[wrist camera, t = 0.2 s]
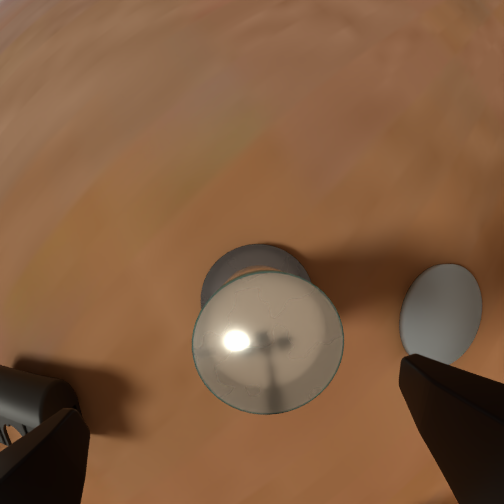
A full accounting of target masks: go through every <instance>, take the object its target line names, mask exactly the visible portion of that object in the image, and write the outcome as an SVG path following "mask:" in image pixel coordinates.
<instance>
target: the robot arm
mask: <svg viewBox="0 0 504 504" xmlns="http://www.w3.org/2000/svg"><path fill="white" fill-rule="evenodd" d="M399 387H400V390H401V392H402V394H403V397H404V399H405V401H406V403H407V406H408V408H409V410H410V412H411V415H412V417H413V419H414V422H415V424H416V426H417V428H418V431H419V433H420V434H421V436H422V438H423V440H424V441H425V443H426V445H427V447H428V448H429V450H430V452H431V454H432V455H433V457H434V459H435V461H436V462H437V464H438V466H439V468H440V470H441V471H442V473H443V475H444V477H445V479H446V481H447V482H448V484H449V486H450V488H451V490H452V492H453V494H454V495H455V497H456V499H457V501H458V503H459V504H504V384H503V383H500V382H497V381H494V380H491V379H488V378H485V377H482V376H479V375H476V374H473V373H470V372H467V371H465V370H462V369H459V368H456V367H453V366H450V365H447V364H445V363H442V362H439V361H436V360H433V359H431V358H428V357H425V356H422V355H420V354H417V353H415V354H411V355H409V356H406V357H404V358H402V360H401V365H400V374H399ZM89 440H90V430H89V428H88V426H87V425H86V423H85V422H84V420H83V419H82V417H81V415H80V414H79V412H78V411H77V410H76V409H73V408H63V409H61V410H60V411H58V412H57V413H56V414H54V415H53V416H51V417H50V418H49V419H47V420H46V421H44V422H43V423H41V424H40V425H39V426H37V427H36V428H34V429H33V430H31V431H30V432H29V433H27V434H26V435H24V436H23V437H21V438H20V439H18V440H17V441H16V442H14V443H13V444H11V445H10V446H8V447H7V448H5V449H4V450H2V451H1V452H0V504H81V498H82V493H83V487H84V482H85V476H86V467H87V457H88V448H89Z"/></svg>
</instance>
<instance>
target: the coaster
mask: <svg viewBox="0 0 504 504" xmlns="http://www.w3.org/2000/svg"><path fill="white" fill-rule="evenodd" d="M481 314H482V298H481V292H480V289H479V286H478V284H477V281H476V280H475V278H474V277H473V275H472V274H471V273H470V272H469V271H468V270H467V269H465V268H464V267H462V266H459V265H455V264H439V265H435V266H432V267H430V268H428V269H427V270H425V271H424V272H423V273H422V274H420V275H419V276H418V277H417V279H416V280H415V281H414V282H413V284H412V285H411V286H410V288H409V290H408V292H407V294H406V296H405V298H404V301H403V304H402V308H401V312H400V320H399V330H400V337H401V341H402V344H403V346H404V348H405V350H406V352H407V353H408V354H409V355H411V354H415V353H417V354H420V355H422V356H425V357H428V358H431V359H433V360H436V361H439V362H442V363H445V364H447V365H449V364H451V363H453V362H454V361H456V360H457V359H458V358H460V357H461V356H462V355H463V354H464V353H465V352H466V350H467V349H468V348H469V346H470V345H471V343H472V342H473V340H474V338H475V336H476V333H477V331H478V328H479V325H480V320H481Z"/></svg>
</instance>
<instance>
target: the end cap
mask: <svg viewBox="0 0 504 504" xmlns="http://www.w3.org/2000/svg"><path fill="white" fill-rule="evenodd" d="M63 408H73V409H76V410H77V411H78V412H79V414H80V415H81V411H80V407H79V403H78V399H77V396H76V394H75V392H74V390H73V389H72V387H71V386H70V385H69V384H68V383H67V382H65V381H64V380H60V379H56V378H51V377H46V376H42V375H37V374H33V373H29V372H25V371H21V370H17V369H13V368H9V367H6V366H2V365H0V443H2V444H5V445H7V446H10V445H11V444H12V443H11V441H10V438H9V436H8V433H7V430H6V425H7V426H13V427H14V428H16V429H17V430H18V431H19V433H20V434H21V435H22V437H23V436H24V435H26V434H27V433H29V432H30V431H31V430H33V429H34V428H36V427H37V426H39V425H40V424H41V423H43V422H44V421H46V420H47V419H49V418H50V417H51V416H53V415H54V414H56V413H57V412H58V411H60V410H61V409H63ZM81 417H82V415H81Z"/></svg>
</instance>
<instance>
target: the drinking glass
mask: <svg viewBox="0 0 504 504" xmlns="http://www.w3.org/2000/svg"><path fill="white" fill-rule="evenodd" d="M343 349H344V333H343V326H342V323H341V319H340V316H339V314H338V312H337V310H336V308H335V306H334V305H333V303H332V302H331V300H330V299H329V298H328V297H327V296H326V294H325V293H324V292H323V291H321V290H320V289H319V288H318V287H317V286H315V285H314V284H312V283H311V282H309V281H307V280H305V279H303V278H301V277H299V276H296V275H293V274H290V273H287V272H283V271H280V270H278V269H275V268H272V267H269V266H264V265H255V266H249V267H246V268H243V269H241V270H239V271H237V272H236V273H234V274H233V275H232V276H231V277H230V278H229V279H228V280H227V281H226V282H225V283H224V284H223V285H222V286H221V287H220V288H219V289H218V290H217V291H216V292H215V293H214V294H213V295H212V296H211V298H210V299H209V300H208V301H207V302H206V304H205V305H204V307H203V308H202V310H201V311H200V313H199V316H198V318H197V320H196V323H195V326H194V330H193V336H192V353H193V359H194V363H195V367H196V369H197V371H198V374H199V376H200V378H201V379H202V381H203V382H204V384H205V385H206V386H207V388H208V389H209V390H210V391H211V392H212V393H213V394H214V395H215V396H216V397H217V398H219V399H220V400H221V401H223V402H224V403H226V404H228V405H229V406H231V407H233V408H236V409H238V410H241V411H244V412H248V413H253V414H266V415H270V414H279V413H284V412H288V411H291V410H294V409H297V408H299V407H301V406H303V405H305V404H307V403H308V402H310V401H311V400H313V399H314V398H316V397H317V396H318V395H319V394H320V393H321V392H322V391H323V390H324V389H325V388H326V387H327V386H328V385H329V383H330V382H331V381H332V379H333V377H334V376H335V374H336V372H337V370H338V368H339V365H340V363H341V359H342V355H343Z"/></svg>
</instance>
